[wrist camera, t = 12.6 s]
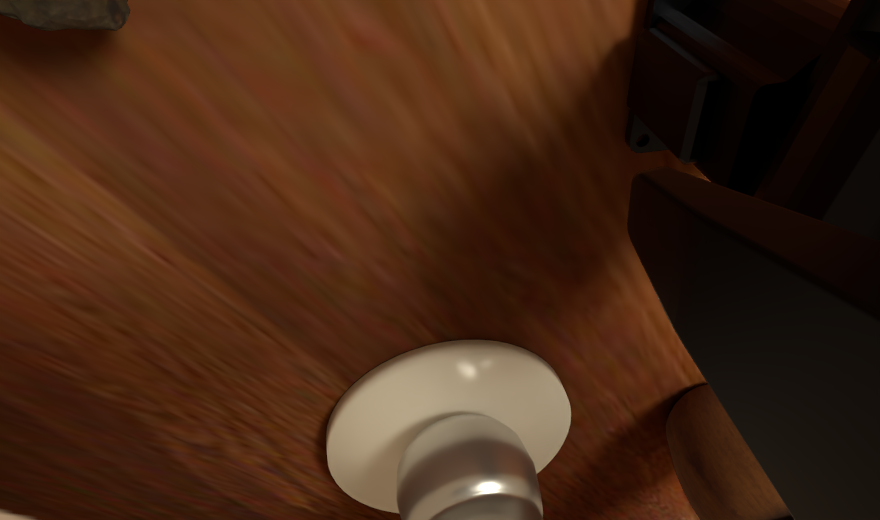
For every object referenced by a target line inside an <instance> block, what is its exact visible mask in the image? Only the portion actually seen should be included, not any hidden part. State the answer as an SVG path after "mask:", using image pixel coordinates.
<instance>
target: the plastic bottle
mask: <svg viewBox="0 0 880 520" xmlns="http://www.w3.org/2000/svg"><path fill="white" fill-rule="evenodd" d="M396 500H397V506H398V510H399V513H400V517H401V520H543V507H542V499H541V493H540V488H539V484H538V479H537V474H536V469H535V466H534V462H533V460H532V459H531V457H530V455H529V453H528V452H527V450H526V448H525V446H524V445H523V443H522V441H521V439H520V438H519V436H518V435H517V433H515V432H514V431H513V430H512V429H511V428H509V427H508V426H506V425H505V424H503V423H501V422H500V421H498V420H496V419H494V418H492V417H489V416H485V415H478V414H463V415H457V416H451V417H448V418H445V419H442V420H439V421H437V422H435V423H433V424H431V425H429V426H427V427H426V428H424V429H423V430H421V431H420V432H419V433H418V434H417V435H416V436H415V437H414V438H413V439H412V440H411V442H410V443H409V444H408V446H407V448H406V450H405V452H404V454H403V456H402V458H401V460H400V462H399V464H398V470H397V495H396Z"/></svg>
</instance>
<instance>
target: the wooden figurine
mask: <svg viewBox="0 0 880 520" xmlns="http://www.w3.org/2000/svg"><path fill="white" fill-rule="evenodd" d="M665 432H666V437H667V442H668V446H669V450H670V454H671V457H672V461H673V465H674V468H675V472H676V474H677V476H678V479H679V481H680V484H681V486H682V489H683V491H684V493H685V495H686V496H687V498H688V500H689V502H690V504H691V506H692V508H693V509H694V511H695V512H696V514H697V515H698V517H699V518H700V520H794V518H793V516H792V515H791V513H790V512H789V510H788V509H787V507H786V505H785V504H784V502H783V501H782V499H781V498H780V496H779V494H778V493H777V491H776V490H775V488H774V487H773V485H772V483H771V482H770V480H769V479H768V477H767V476H766V474H765V472H764V471H763V469H762V468H761V466H760V464H759V463H758V461H757V460H756V458H755V457H754V455H753V453H752V452H751V450H750V449H749V447H748V446H747V444H746V442H745V441H744V439H743V438H742V436H741V435H740V433H739V431H738V430H737V428H736V427H735V425H734V424H733V422H732V420H731V419H730V417H729V416H728V414H727V413H726V411H725V409H724V408H723V406H722V405H721V403H720V402H719V400H718V398H717V397H716V395H715V394H714V392H713V391H712V389H711V387H710V386H709V384H706V385H703V386H699V387H696V388H694V389H693V390H691V391H689V392H688V393H686V394H684V395H683V396H682V397H681V398H680V399H679V400H678V401H677V402H676V403H675V405H674V406H673V408H672V410H671V412H670V414H669V416H668V419H667V423H666V429H665Z"/></svg>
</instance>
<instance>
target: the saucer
mask: <svg viewBox="0 0 880 520" xmlns="http://www.w3.org/2000/svg"><path fill="white" fill-rule="evenodd" d="M463 414H478V415H485V416H489V417H492V418H494V419H496V420H498V421H500V422H501V423H503V424H505V425H506V426H508V427H509V428H511V429H512V430H513V431H514V432H515V433H517V435H518V436H519V438H520V439H521V441H522V443H523V445H524V446H525V448H526V450H527V452H528V453H529V455H530V457H531V459H532V460H533V462H534V466H535V469H536V474H537V473H539V472H540V471H541V470H542V469H543V468H544V467H545V466H546V465H547V464H548V463H549V462H550V461H551V460H552V459H553V457H554V456H555V455H556V454H557V453H558V451H559V449H560V448H561V446H562V445H563V443H564V441H565V439H566V436H567V434H568V431H569V427H570V423H571V408H570V403H569V400H568V397H567V395H566V392H565V390H564V388H563V386H562V383H561V381H560V379H559V377H558V376H557V374H556V372H555V371H554V369H553V368H552V367H551V366H550V365H549V364H548V363H547V362H546V361H544V360H543V359H542V358H540V357H539V356H538V355H536V354H534V353H532V352H530V351H528V350H526V349H524V348H521V347H518V346H515V345H512V344H508V343H503V342H499V341H490V340H456V341H447V342H441V343H436V344H431V345H427V346H424V347H420V348H417V349H414V350H411V351H408V352H406V353H403V354H401V355H398V356H396V357H394V358H392V359H390V360H388V361H386V362H384V363H382V364H380V365H379V366H377V367H375V368H374V369H372V370H371V371H369V372H368V373H366V374H365V375H364V376H363V377H361V378H360V379H359V380H358V381H356V382H355V383H354V384H353V385H352V386H351V387H350V388H349V389H348V390H347V391H346V392H345V393H344V395H343V396H342V397H341V399H340V400H339V402H338V403H337V404H336V406H335V408H334V410H333V412H332V414H331V416H330V419H329V422H328V426H327V432H326V447H327V460H328V466H329V469H330V472H331V475H332V477H333V478H334V480H335V482H336V483H337V484H338V486H339V487H340V488H341V489H342V490H343V491H344V492H345V493H347V494H348V495H349V496H351V497H352V498H354V499H355V500H357V501H359V502H361V503H363V504H365V505H368V506H370V507H373V508H376V509H380V510H383V511H388V512H394V513H399V510H398V506H397V500H396V495H397V470H398V464H399V462H400V460H401V458H402V456H403V454H404V452H405V450H406V448H407V446H408V444H409V443H410V442H411V440H412V439H413V438H414V437H415V436H416V435H417V434H418V433H419V432H420V431H421V430H423V429H424V428H426V427H427V426H429V425H431V424H433V423H435V422H437V421H439V420H442V419H445V418H448V417H451V416H457V415H463Z"/></svg>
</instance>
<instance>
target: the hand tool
mask: <svg viewBox="0 0 880 520" xmlns="http://www.w3.org/2000/svg"><path fill="white" fill-rule="evenodd" d="M127 1H128V0H0V14H1V15H4V16H7V17H11V18H14V19H17V20H21V21H22V22H23V23H24V24H26V25H28V26H30V27H33V28H37V29H40V30H44V31H54V30H62V29H70V28H72V29H84V30H93V29H106V30H115V31H116V30H118V29H120V28H122V26H123V25H124V24H125V22H126V21H127V19H128V16H129V13H130V9H129V7H128V4H127Z"/></svg>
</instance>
